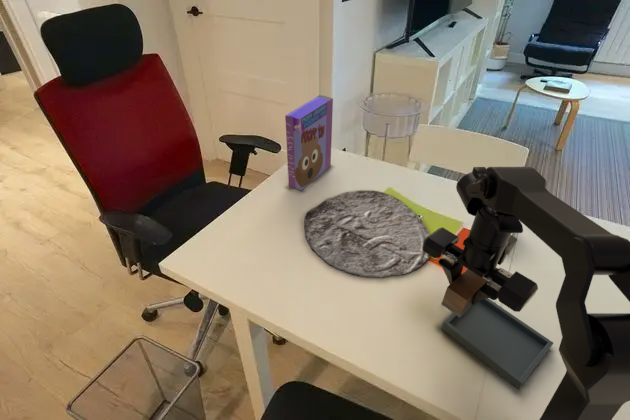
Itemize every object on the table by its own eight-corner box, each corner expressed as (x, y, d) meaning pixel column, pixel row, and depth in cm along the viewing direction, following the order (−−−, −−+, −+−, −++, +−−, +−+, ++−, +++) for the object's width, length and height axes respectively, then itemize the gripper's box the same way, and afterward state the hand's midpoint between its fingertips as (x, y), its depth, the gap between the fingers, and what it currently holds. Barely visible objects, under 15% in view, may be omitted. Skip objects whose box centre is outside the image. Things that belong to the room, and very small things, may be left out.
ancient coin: (376, 303, 82) (376, 302, 82) (280, 224, 102) (280, 223, 102) (459, 235, 99) (459, 234, 99) (362, 179, 119) (363, 178, 119)
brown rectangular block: (483, 294, 71) (491, 277, 68) (459, 317, 67) (467, 300, 64) (464, 282, 74) (471, 265, 70) (441, 304, 70) (447, 286, 66)
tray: (549, 348, 74) (554, 342, 72) (518, 389, 67) (522, 383, 66) (474, 296, 84) (477, 290, 82) (441, 327, 77) (443, 322, 76)
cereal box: (301, 191, 115) (299, 118, 100) (288, 186, 117) (285, 114, 102) (330, 166, 126) (332, 97, 111) (318, 162, 128) (319, 94, 113)
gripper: (570, 243, 59) (533, 304, 68) (464, 190, 69) (446, 249, 79) (538, 279, 53) (502, 339, 63) (429, 215, 64) (413, 275, 74)
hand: (463, 296), depth 70 cm, fingers closed on brown rectangular block, 4 cm apart
